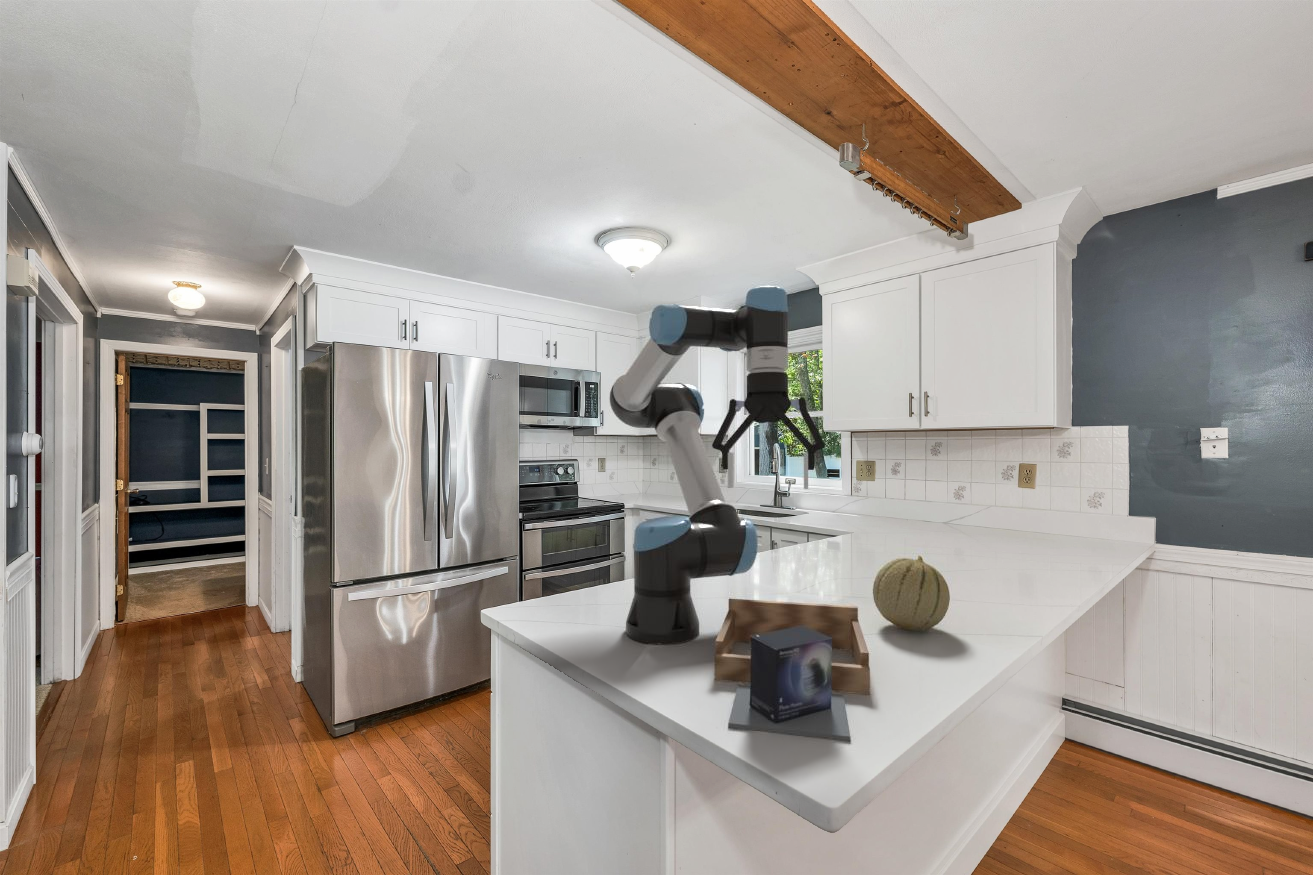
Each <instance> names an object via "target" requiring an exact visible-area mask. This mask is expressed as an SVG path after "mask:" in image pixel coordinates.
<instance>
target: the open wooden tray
mask: <svg viewBox="0 0 1313 875" xmlns="http://www.w3.org/2000/svg"><path fill="white" fill-rule="evenodd" d="M723 620H724V621H723V623H722V625H721V627H720V630H719V632H718V635H717V637H716V639H715V653H714V680H715V681H722V682H723V681H724V682H732V683H733V682H734V683H735V682H736V683H745V684H750V670H751V668H750V665H751V663H750V662H751V655H743V654H733V653H732V651H733V648H734V645H735V642H738V641H739V642H741V643H751V640H750V636H751V635H756V634H761V633H767V632H772V631H777V630H783V629H788V628H793V627H798V626H806V627H808V628H811V629H813V630H815V631H817V632H819V633H822V634H824V635H826V636H828V637H831V638H832V650H841V651H851V654H852V659H853V663H854V664H853V663H852V664H851V663H840V662H831V692H836V693H837V692H840V693H848V694H850V693H851V694H860V695H867V696H868V695H871V668H870V653H869V649H868V646H867V643H866V640H865V636H864V634H863V630H862V627H861V624H860V621H859V607H858V605H857V606H856V605H855V606H854V605H842V604H841V605H840V604H825V603H809V602H808V603H806V602H791V601H776V600H775V601H773V600H759V599H756V600H755V599H743V598H741V599H740V598H728V611H727V613H726V615H725V618H724V619H723Z"/></svg>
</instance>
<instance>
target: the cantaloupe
mask: <svg viewBox="0 0 1313 875" xmlns="http://www.w3.org/2000/svg"><path fill="white" fill-rule="evenodd" d="M872 596H873V602H874V605H875V606H876V609H877V610H878V612H879V614H881V616H882V617H883V619H885V620H886V621H887V622H890V623H891V624H893V625H894V626H896V627H898V628H900V629H901V630H902V629H903V630H905V631H906V630H908V631H914V632H918V631H919V632H920V631H925V630H926V631H927V630H929V629H931V628H934V627H936V626H937V625H939V624H940V622H942V620H943V619H944V618H945V617H946V615H947V612H948V610H949V607H950V599H951V597H950V596H951V595H950V590H949V586H948V583H947V581H946V579H945V577H944V576H943V575H942V573H940V571H939V570H937V569H936V568H935V567H934V566H933V565H930V564H928V563H926V562H925V561H924V559H923V557H922V556H921V555H918V556H917V559H913V558H907V557H906V558H905V557H902V558H900V557H899V558H896V559H893V560H891V561H889V562H887V563H886V564H885V565H883V567H882V568H880V570H878V571H877V574H876V576H875V578H874V581H873V586H872Z"/></svg>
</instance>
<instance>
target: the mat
mask: <svg viewBox="0 0 1313 875" xmlns="http://www.w3.org/2000/svg"><path fill="white" fill-rule="evenodd" d="M845 701H846V700H845V698H844V694H843V693H835V692H833V693H832V692H831V708H829V709H826V710H822V711H818V712H815V713H811V714H807V715H804V716H800V717H797V718H793V719H789V720H786V721H782V722H779V723H774V722H773V721H771V720H770V719H768V718H767V717H765V716H764V715H763V714H761V713H760V712H758V711H757V710H755V709H754V708H752V707H751V706H750V705H749V703H750V684H749V685H748V684H737V687H736V692H735V695H734V699H733V703H732V708H731V711H730V715H729V719H728V723H727V725H728V728H733V729H740V730H748V731H757V732H758V731H760V732H767V733H768V732H769V733H778V734H783V735H793V736H803V737H809V738H819V739H826V740H827V739H829V740H838V741H844V742H851V732H850V731H851V730H850V726H849V721H848V720H849V719H848V714H847V708H846V703H845Z"/></svg>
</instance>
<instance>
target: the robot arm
mask: <svg viewBox="0 0 1313 875" xmlns="http://www.w3.org/2000/svg"><path fill="white" fill-rule="evenodd" d="M744 304H745V306H744V307H742V308H740V309H734V310H733V309H723V308H722V309H721V308H711V307H709V308H708V307H702V306H701V307H699V306H691V305H680V304H676V303H674V304H659V305H657V306H655V307H654V308H653V310H652V311H651V316H650V319H649V326H648V328H649V336H650V338H649V339H648V340H647V342H646V344H645V345H644V347H643V348H642V350H641V351H640V353H639V354H638V356H637V357H636V358H635V360H634V361H633V363H632V364H631V366H630V367H629V368H628V370H627V372H626V373H625V374H622V375H621V376H619V377H618V378H617V379H616V380H615V382H614V383H613V385H611V386H612V387H611V389H610V392H609V404H610V407H611V410H612V413H613V414H614V415H615V416H616V417H617V419H618V420H619V421H621V422H622V423H624V424H625V425H627V426H629V427H632V428H636V429H637V428H638V429H654V430H655V433H656V435H657V437H658V438H659V439H660V440H661V441H663V442H665V445H666V447H667V450H668V453H669V456H670V459H671V462H672V465H673V468H674V471H675V474H676V477H677V480H678V485H679V486H680V490H681V492H682V495H683V499H684V501H685V505H686V508H687V511H688V513H689V516H684V515H671V516H669V515H668V516H660V517H655V518H654V517H653V518H650V519H647V520H644V521H641V522H640V523H639V524H637V526H636V527H635V529H634V538H633V544H632V547H633V570H634V571H633V579H634V580H633V584H634V586H633V588H634V592H633V596H632V597H633V599H632V600H631V601H632V602H631V604H630V607H629V609H628V610H629V611H628V613H627V617H626V620H625V634H626V636H627V637H629V638H630V639H631V640H634V641H637V642H639V643H645V644H655V645H671V644H672V645H673V644H679V643H684V642H688V641H691V640H693V639H695V638H696V637H698V636H699V634H700V620H699V616H698V614H697V610H696V607H695V605H694V602H693V599H692V595H691V580H692V579H693V580H694V579H702V578H715V577H723V576H726V577H727V576H728V577H729V576H730V577H732V576H735V575H741V574H744V573H747V572H748V571H750V570H751V569H752V568H753V566H754V564H755V561H756V559H757V554H758V542H759V540H758V533H757V530H756V527H755V525H754V523H753V522H752V521H751V520H749V519H747V518H740V517H739V514H738V513H737V509H736V507H735V506H734V505H733V504H730V503H727V502H726V500H725V497H724V495H723V491H722V489H721V487H720V484H719V482H718V479H717V475H716V474H715V471H714V468H713V466H712V463H711V460H710V458H709V455H708V453H707V450H706V447H705V444H704V442H703V439H702V437H701V434H700V432H699V430H700V428H701V424H702V422H703V420H704V415H705V408H704V404H705V403H704V400H703V397H702V395H701V392H700V391H699V389H698V388H697V387H695V386H694V385H692V384H685V383H681V382H676V383H663V380H664V379H665V378H666V377H667V375H669V373H670V371H671V370H673V368H674V367H675V365H676V364H677V363H678V362H679V361H680V360H681V358H682V357H683V356H684V354H685V353H686V352H687V351H688V350H689V349H690V348H691V347H698V348H699V347H702V348H716V349H717V348H718V349H720V350H721V351H723V352H728V353H729V352H730V353H731V352H740V351H741V350H744V349H746V371H747V372H748V374H747V375H746V397H745V400H736V399H734V398H732V399H730V400H729V404H728V411H727V413H726V415H725V417H724V419H723V422H722V423H721V426H720V427H719V430H718V432H717V434H716V436H715V439H714V440H713V443H712V445H711V447H712V449H715V450H718V451H720V452H721V467H722V470H727V488H728V489H731V488H734V486H735V480H734V479H735V476H734V475H735V474H734V473H735V472H734V471H735V469H734V464H735V463H734V462H735V461H734V460H735V459H734V455H735V454H734V452H730V451H731V449H732V448H733V447H734V445H735V444H736V443H737V442H738V441H739V439H740V438H741V437H742V436H743V435H744V434H745V433H746V431H747V430H748V429H749V428H750V427H751V426H752V425H753V423H755V422H756V423H758V424H765V423H771V424H777V423H779V422H780V421H782V423H783V424H784V425H785V426H786V428H788V430H789V431H790V432H791V433H792V434H793V435H794V436H795V437H796V439H797V440H798V441H799V442H800V443H801V444H802V446H803V447H804V448H805V449H806V450H807V452H803V489H804V490H809V471H814V470H815V466H816V465H815V464H816V462H815V461H816V460H815V456H816V454H815V453H816V452H817V451H819V450H822V449H824V448H825V447H826V443H825V441H824V440H823V438H822V436H821V434H820V432H819V430H818V428H817V426H816V425H815V422H814V420H813V419H812V416H810V413H809V411H808V409H807V402H806V398H805V397H800V398H797V399H790V397H789V375H788V373H787V372H785V371H788V369H789V349H788V340H789V311H790V310H789V307H788V294H787V292H786V290H785V289H784V288H782V287H780V286H773V285H765V286H757V287H754V288H753V287H752V288H750V289H749V290H748V291H747V292H746V297H745V302H744ZM791 407H794V409H795V410H796V411H800V412H799V413H800V415H801V416H802V419H803V421H804V423H805V424H806V426H807V428H808V430H809V433H810V435H811V436H812V438H813V439H814V442H815V443H814V444H813V443H811V442H810V440H808V439H807V437H806V436H805V435H804V434H803V433H802V431H800V429H799V428H798V427H797V426H796V425H795V424H794V422H793V421H792V420H791V419H790V418H789V417H788V416H787V413H788V411H789V409H790V408H791ZM742 408H744V409H745V410H746V411H747V413H748V416H747V417H746V418H745V419H744V421H743V422H742V423H741V424H740V425H739V427H737V429H736V430H735V431H734V432H733V434H731V436H730V437H729V439H727V440H726V442H725V443H724V444H723V441H724V440H725V437H726V436H727V433H728V431H729V430H730V427H731V425H732V423H733V421H734V419H735V417H736V415H737V413H738V412H740V411H741V409H742Z"/></svg>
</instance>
